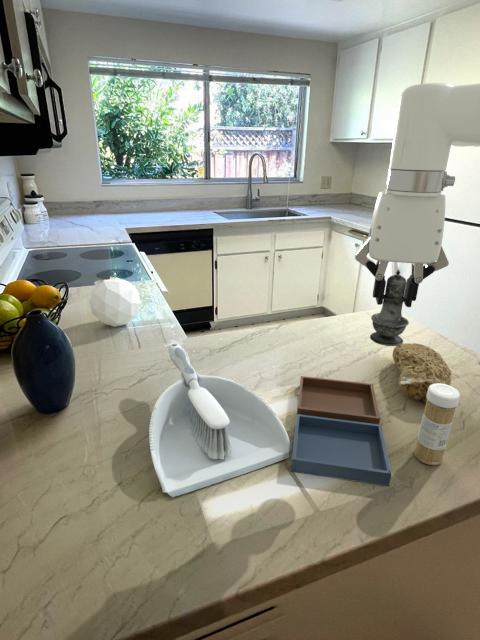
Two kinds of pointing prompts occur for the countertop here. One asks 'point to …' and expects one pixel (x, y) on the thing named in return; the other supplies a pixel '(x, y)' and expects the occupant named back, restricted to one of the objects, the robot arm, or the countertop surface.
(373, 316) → the grey stone figurine
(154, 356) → the countertop surface
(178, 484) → the dustpan and brush
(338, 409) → the tray walnut
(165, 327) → the countertop surface
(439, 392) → the sprinkles bottle
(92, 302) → the geodesic sphere
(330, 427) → the tray blue
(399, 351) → the sponge
